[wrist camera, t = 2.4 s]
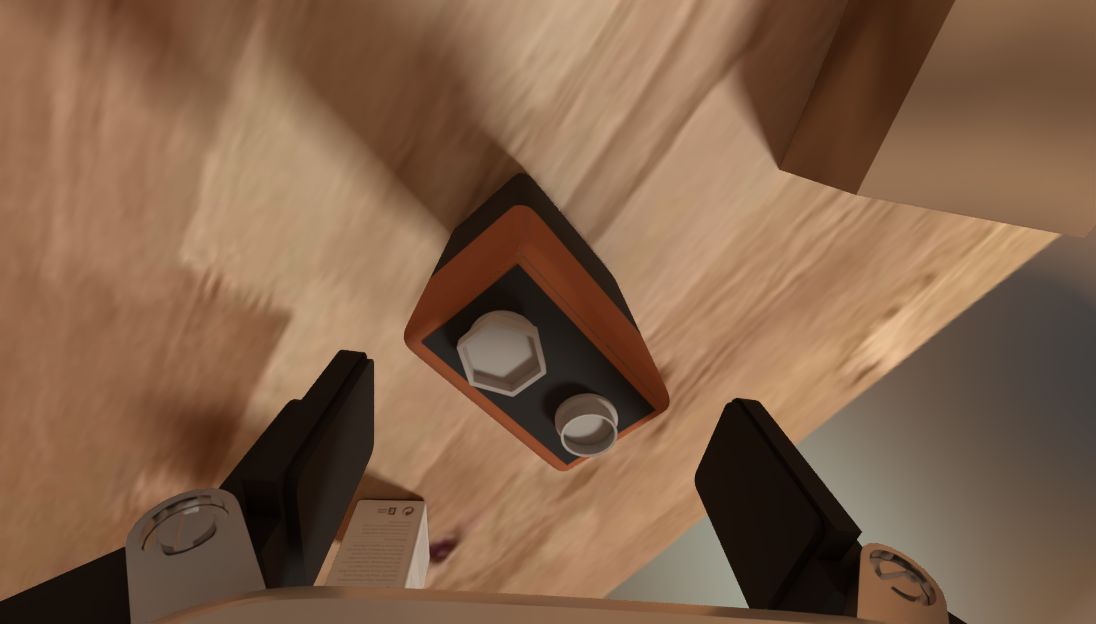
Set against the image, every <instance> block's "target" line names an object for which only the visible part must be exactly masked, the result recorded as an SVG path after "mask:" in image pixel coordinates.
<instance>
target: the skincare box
mask: <svg viewBox="0 0 1096 624" xmlns="http://www.w3.org/2000/svg"><path fill="white" fill-rule="evenodd" d="M429 557H430V556H429V542H428V528H427V513H426V502H424V501H397V500H360V501H358V503H357V506H356V508H355V510H354V513H353V516H352V518H351V520H350V523H349V525H348V528H347V531H346V533H345V535H344V538H343V540H342V543H341V545H340V548H339V550H338V553H337V556H336V558H335V560H334V563H333V565H332V568H331V570H330V573H329V575H328V577H327V580H326V583H325V585H324V586H359V587H386V588H413V589H423V586H424V582H425V577H426V573H427V568H428V563H429Z"/></svg>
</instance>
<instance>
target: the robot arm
mask: <svg viewBox="0 0 1096 624" xmlns="http://www.w3.org/2000/svg"><path fill="white" fill-rule="evenodd" d="M373 446H374V361H373V359H367V355H366V353H365V352H357V351H349V350H340V351H339V352H338V353H337V354H336V356H335V357H334V358H333V359H332V361H331V362H330V363H329V365H328V366H327V367H326V369H325V370H324V371H323V372H322V374H321V375H320V376H319V378H318V379H317V380H316V382H315V383H314V384H313V386H312V387H311V388H310V389H309V391H308V392H307V393H306V395H305V396H304V397H303V399H302V400H298V399H293V400H291V401H289V402H288V403H287V404H286V405H285V407H284V408H283V409H282V410H281V412H280V413H279V414H278V415H277V417H276V418H275V419H274V420H273V422H272V423H271V424H270V425H269V426H268V428H267V429H266V430H265V431H264V433H263V434H262V435H261V436H260V438H259V439H258V440H257V441H256V443H255V444H254V445H253V446H252V448H251V449H250V450H249V451H248V452H247V454H246V455H245V456H244V457H243V459H242V460H241V461H240V462H239V464H238V465H237V466H236V467H235V469H234V470H233V471H232V472H231V474H230V475H229V476H228V477H227V479H226V480H225V481H224V482H223V483H222V485H221V486H220V487H219V488H218V489H215V488H205V489H195V490H192V491H188V492H184V493H180V494H178V495H176V496H174V497H171V498H169V499H167V500H165V501H163V502H161V503H160V504H158V505H157V506H155V507H153V508H152V509H150V510H149V511H148V512H147V513H145V514H144V515H143V516H142V517H141V518H140V519H139V520H138V521H137V522H136V523H135V525H134V526H133V528H132V529H131V531H130V532H129V534H128V536H127V541H126V546H125V547H123V548H121V549H118V550H116V551H114V552H111V553H109V554H107V555H105V556H102V557H100V558H98V559H96V560H93V561H91V562H89V563H87V564H84V565H82V566H80V567H77V568H75V569H73V570H71V571H68V572H66V573H64V574H62V575H59V576H57V577H55V578H53V579H50V580H48V581H46V582H43V583H41V584H39V585H37V586H34V587H32V588H30V589H28V590H25V591H23V592H21V593H19V594H16V595H14V596H12V597H9V598H7V599H5V600H3V601H0V624H967V623H965V622H964V621H962V620H960V619H959V618H957V617H956V616H954V615H953V614H951V613H949V612H948V611H947V604H946V600H945V597H944V595H943V592H942V591H941V589H940V588H939V586H938V584H937V583H936V581H935V580H934V579H933V578H932V577H931V576H930V575H929V574H928V573H927V572H926V571H925V570H924V569H923V568H922V567H921V566H920V565H918V564H917V563H916V562H915V561H914V560H912V559H910V558H909V557H908V556H906V555H904V554H903V553H901V552H899V551H897V550H895V549H893V548H891V547H888V546H886V545H882V544H878V543H869V544H867V545H865V546H863V547H862V546H861V545H860V543H859V542H858V541H857V538H858V537H859V536H860V534H861V533H862V531H861V530H860V529H859V527H858V526H857V525H856V524H855V522H854V521H853V520H852V518H851V517H850V516H849V515H848V514H847V512H846V511H845V510H844V508H843V507H842V506H841V504H840V503H839V502H838V501H837V499H836V498H835V497H834V496H833V494H832V493H831V492H830V491H829V489H828V488H827V487H826V485H825V484H824V483H823V482H822V480H821V479H820V478H819V477H818V475H817V474H816V473H815V471H813V469H812V468H811V466H810V465H809V464H808V463H807V461H806V460H805V459H804V458H803V456H802V455H801V454H800V452H799V451H798V450H797V449H796V447H795V446H794V445H793V443H792V442H791V441H790V440H789V438H788V437H787V436H786V435H785V433H784V432H783V431H782V429H781V428H780V427H779V426H778V424H777V423H776V422H775V421H774V419H773V418H772V417H771V415H770V414H769V413H768V412H767V410H766V409H765V408H764V407H763V405H762V404H761V403H760V402H759V401H756V400H750V399H742V398H735V399H734V400H732V402H730V403H727V404H726V406H725V408H724V410H723V412H722V414H721V417H720V419H719V421H718V423H717V426H716V428H715V430H714V433H713V435H712V437H711V439H710V442H709V444H708V446H707V448H706V451H705V453H704V455H703V457H702V460H701V462H700V464H699V466H698V469H697V471H696V474H695V486H696V489H697V491H698V493H699V496H700V498H701V500H702V502H703V505H704V507H705V509H706V511H707V514H708V516H709V518H710V521H711V523H712V525H713V527H714V529H715V532H716V534H717V536H718V539H719V541H720V543H721V545H722V548H723V550H724V552H725V554H726V557H727V559H728V561H729V563H730V566H731V568H732V570H733V573H734V575H735V577H736V579H737V581H738V584H739V586H740V588H741V590H742V593H743V595H744V597H745V600H746V602H747V604H748V606H749V609H748V608H735V607H719V606H705V605H704V606H703V605H689V604H675V603H674V604H673V603H659V602H642V601H626V600H610V599H593V598H577V597H560V596H543V595H525V594H507V593H489V592H471V591H453V590H435V589H413V588H386V587H359V586H313V585H314V583H315V581H316V578H317V576H318V574H319V572H320V569H321V567H322V565H323V563H324V560H325V558H326V556H327V554H328V551H329V549H330V547H331V545H332V542H333V540H334V538H335V536H336V533H337V531H338V529H339V527H340V524H341V522H342V520H343V518H344V515H345V513H346V511H347V509H348V506H349V504H350V502H351V500H352V498H353V495H354V493H355V491H356V489H357V486H358V484H359V482H360V480H361V477H362V475H363V473H364V471H365V468H366V466H367V464H368V462H369V459H370V457H371V454H372V451H373Z"/></svg>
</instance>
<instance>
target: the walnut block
mask: <svg viewBox="0 0 1096 624" xmlns="http://www.w3.org/2000/svg"><path fill="white" fill-rule="evenodd" d="M779 170H782V171H785V172H788V173H791V174H794V175H797V176H800V177H803V178H806V179H809V180H812V181H815V182H818V183H821V184H824V185H828V186H831V187H834V188H837V189H840V190H843V191H846V192H849V193H852V194H855V195H859V196H864V197H870V198H875V199H880V200H885V201H891V202H896V203H901V204H906V205H912V206H917V207H922V208H928V209H933V210H938V211H943V212H949V213H954V214H959V215H964V216H970V217H975V218H980V219H986V220H991V221H996V222H1001V223H1007V224H1012V225H1017V226H1022V227H1028V228H1033V229H1038V230H1044V231H1049V232H1054V233H1059V234H1065V235H1070V236H1075V237H1081V238H1085V237H1086V235H1087V234H1088V233H1089V232H1090V230H1091V229H1092V228H1093V227H1094V225H1095V224H1096V0H849V2H848V5H847V7H846V10H845V12H844V14H843V17H842V19H841V22H840V24H839V26H838V29H837V31H836V34H835V36H834V38H833V41H832V43H831V46H830V48H829V51H828V53H827V55H826V58H825V60H824V63H823V65H822V67H821V70H820V72H819V75H818V77H817V79H816V82H815V84H814V87H813V89H812V91H811V94H810V96H809V99H808V101H807V104H806V106H805V108H804V111H803V113H802V116H801V118H800V120H799V123H798V125H797V128H796V130H795V132H794V135H793V137H792V140H791V142H790V144H789V147H788V149H787V152H786V154H785V157H784V159H783V161H782V164H781V166H780V169H779Z"/></svg>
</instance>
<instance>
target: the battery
mask: <svg viewBox="0 0 1096 624" xmlns="http://www.w3.org/2000/svg"><path fill="white" fill-rule="evenodd" d="M404 341H405V343H406V345H407V347H408V348H409V349H410V350H411V351H412V352H413V353H415V354H416V355H417V356H418V357H419V358H421V359H422V360H423V361H424V362H425V363H427V364H428V365H429V366H430V367H431V368H433V369H434V370H435V371H436V372H437V373H439V374H440V375H441V376H442V377H444V378H445V379H446V380H447V381H448V382H450V383H451V384H452V385H453V386H454V387H456V388H457V389H458V390H459V391H461V392H462V393H463V394H464V395H465V396H467V397H468V398H469V399H470V400H471V401H473V402H474V403H475V404H476V405H478V406H479V407H480V408H481V409H482V410H484V411H485V412H486V413H487V414H489V415H490V416H491V417H492V418H493V419H495V420H496V421H497V422H498V423H499V424H501V425H502V426H503V427H504V428H506V429H507V430H508V431H509V432H510V433H512V434H513V435H514V436H515V437H516V438H518V439H519V440H520V441H521V442H523V443H524V444H525V445H526V446H527V447H529V448H530V449H531V450H532V451H533V452H535V453H536V454H537V455H538V456H540V457H541V458H542V459H543V460H545V461H546V462H547V463H548V464H550V465H551V466H552V467H554V468H555V469H557V470H559V471H568V470H570V469H572V468H573V467H575V466H577V465H578V464H580V463H582V462H583V461H585V460H586V459H588V458H590V457H594V456H598V455H601V454H603V453H605V452H607V451H608V450H609V449H611V448H612V446H613V445H614V444H615V442H616V441H617V440H619V439H620V438H622V437H624V436H625V435H627V434H629V433H630V432H632V431H633V430H635V429H637V428H638V427H640V426H642V425H643V424H645V423H646V422H648V421H650V420H651V419H653V418H655V417H656V416H658V415H659V414H661V413H662V412H664V411H665V410H666V409H667V408H668V406H669V402H670V400H669V394H668V392H667V389H666V387H665V385H664V383H663V381H662V378H661V376H660V374H659V372H658V370H657V368H656V366H655V363H654V361H653V359H652V357H651V355H650V353H649V351H648V348H647V346H646V344H645V342H644V340H643V338H642V336H641V334H640V331H639V329H638V327H637V325H636V323H635V321H634V319H633V316H632V314H631V312H630V310H629V308H628V306H627V304H626V301H625V299H624V297H623V295H622V293H621V291H620V289H619V287H618V284H617V282H616V280H615V278H614V277H613V275H612V274H611V273H610V272H609V270H608V269H607V268H606V267H605V265H604V264H603V263H602V262H601V261H600V259H599V258H598V257H597V256H596V255H595V253H594V252H593V251H592V250H591V249H590V247H589V246H588V245H587V244H586V243H585V241H584V240H583V239H582V238H581V237H580V235H579V234H578V233H577V232H576V230H575V229H574V228H573V227H572V226H571V224H570V223H569V222H568V221H567V220H566V218H565V217H564V216H563V215H562V214H561V212H560V211H559V210H558V209H557V208H556V206H555V205H554V204H553V203H552V202H551V200H550V199H549V198H548V197H547V196H546V194H545V193H544V192H543V191H542V190H541V188H540V187H539V186H538V185H537V184H536V182H535V181H534V180H533V179H532V178H531V177H530V176H529V175H527V174H523V173H520V174H517V175H515V176H514V177H513V178H512V179H511V180H509V181H508V182H507V183H506V184H505V185H504V186H503V187H502V188H501V189H499V190H498V191H497V192H496V193H495V194H494V195H493V196H492V197H490V198H489V199H488V200H487V201H486V202H485V203H484V204H483V205H482V206H480V207H479V208H478V209H477V210H476V211H475V212H474V213H473V214H471V215H470V216H469V217H468V218H467V219H466V220H465V221H464V222H463V223H461V224H460V225H459V226H458V227H457V228H456V229H455V230H454V231H453V233H452V235H451V237H450V239H449V241H448V243H447V245H446V247H445V249H444V251H443V253H442V255H441V257H440V259H439V261H438V263H437V265H436V267H435V269H434V271H433V273H432V275H431V277H430V279H429V281H428V283H427V285H426V287H425V289H424V292H423V294H422V296H421V298H420V300H419V302H418V304H417V306H416V308H415V310H414V312H413V314H412V316H411V318H410V320H409V322H408V324H407V326H406V328H405V332H404Z"/></svg>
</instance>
